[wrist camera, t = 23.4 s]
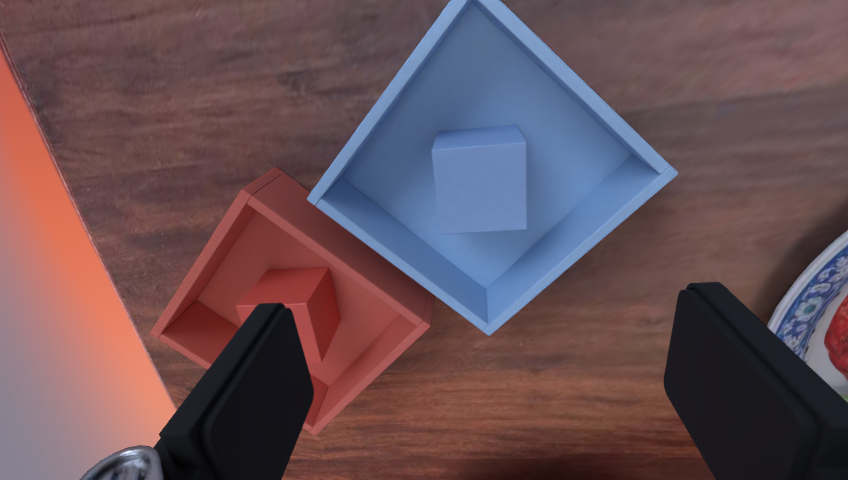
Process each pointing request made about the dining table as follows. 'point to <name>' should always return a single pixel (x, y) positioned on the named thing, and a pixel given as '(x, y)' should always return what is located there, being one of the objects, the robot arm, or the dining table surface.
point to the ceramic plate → (819, 316)
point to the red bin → (292, 249)
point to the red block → (300, 305)
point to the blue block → (480, 179)
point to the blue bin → (478, 108)
